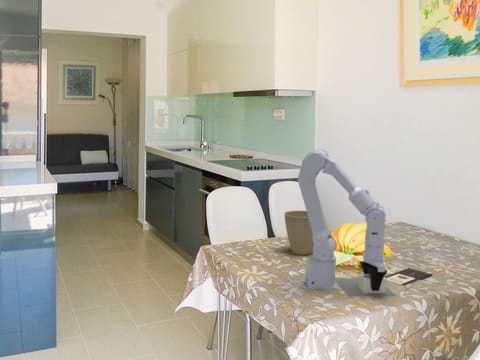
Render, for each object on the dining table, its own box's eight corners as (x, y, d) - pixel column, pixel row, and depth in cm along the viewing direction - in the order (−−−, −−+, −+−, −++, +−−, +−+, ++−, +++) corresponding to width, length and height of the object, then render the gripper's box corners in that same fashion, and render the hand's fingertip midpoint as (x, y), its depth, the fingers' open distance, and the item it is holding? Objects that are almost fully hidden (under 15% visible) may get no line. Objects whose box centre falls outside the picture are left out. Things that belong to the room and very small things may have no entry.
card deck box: (363, 293, 151) (364, 278, 151) (358, 287, 156) (359, 273, 156) (385, 292, 152) (386, 278, 151) (379, 287, 157) (380, 273, 156)
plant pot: (327, 255, 194) (329, 215, 192) (296, 259, 188) (297, 218, 186) (306, 246, 208) (308, 209, 205) (276, 249, 201) (277, 211, 199)
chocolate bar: (432, 274, 171) (404, 285, 159) (432, 276, 171) (404, 287, 159) (408, 267, 178) (380, 277, 166) (408, 270, 178) (380, 280, 166)
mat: (348, 297, 149) (348, 296, 148) (333, 279, 165) (333, 277, 165) (396, 297, 150) (396, 295, 150) (376, 278, 167) (376, 277, 167)
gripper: (396, 251, 146) (393, 295, 147) (378, 239, 160) (376, 279, 162) (373, 251, 145) (370, 295, 147) (357, 239, 159) (355, 279, 161)
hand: (372, 287), depth 154 cm, fingers closed on card deck box, 5 cm apart
